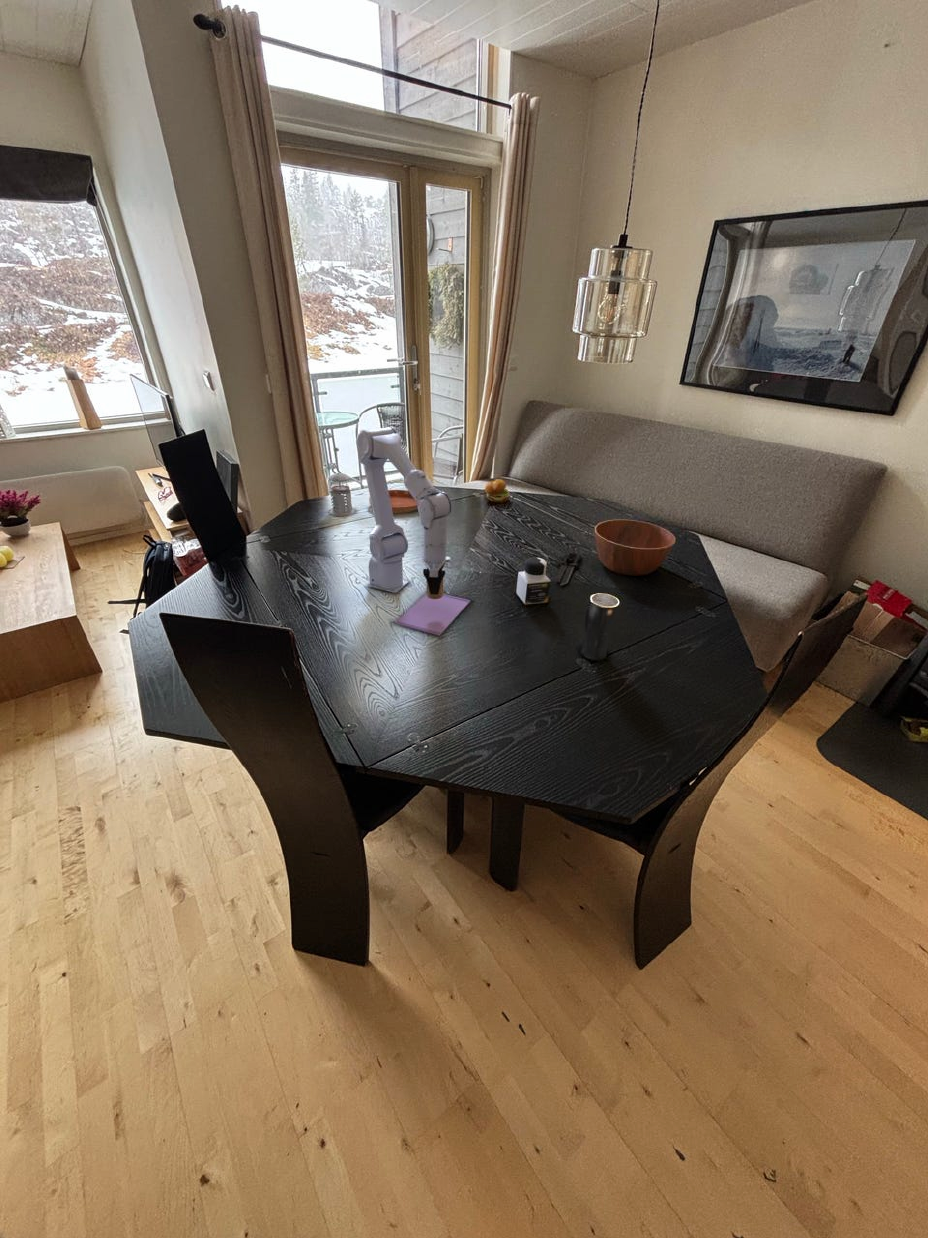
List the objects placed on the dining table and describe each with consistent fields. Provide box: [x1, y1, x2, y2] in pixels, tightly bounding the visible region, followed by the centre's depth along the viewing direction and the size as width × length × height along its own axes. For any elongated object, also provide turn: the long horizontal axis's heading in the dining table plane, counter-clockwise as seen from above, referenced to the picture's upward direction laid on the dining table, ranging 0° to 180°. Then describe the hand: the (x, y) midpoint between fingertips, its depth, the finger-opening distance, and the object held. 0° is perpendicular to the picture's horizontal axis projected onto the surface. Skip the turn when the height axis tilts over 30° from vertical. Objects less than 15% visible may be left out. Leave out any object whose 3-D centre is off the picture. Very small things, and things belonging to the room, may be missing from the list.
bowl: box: [594, 519, 676, 577], centre depth 163 cm, size 25×25×11 cm
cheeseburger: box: [484, 478, 510, 504], centre depth 217 cm, size 10×11×10 cm
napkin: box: [394, 593, 471, 637], centre depth 136 cm, size 13×20×1 cm, turn 156°
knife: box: [554, 551, 581, 586], centre depth 161 cm, size 25×6×1 cm, turn 154°
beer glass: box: [580, 593, 620, 662], centre depth 118 cm, size 7×7×15 cm
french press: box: [327, 447, 356, 517], centre depth 193 cm, size 10×12×25 cm
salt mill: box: [425, 578, 444, 599], centre depth 131 cm, size 4×4×8 cm
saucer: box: [368, 489, 419, 514], centre depth 207 cm, size 23×23×4 cm
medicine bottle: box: [515, 557, 551, 606], centre depth 142 cm, size 7×7×12 cm
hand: (434, 589), depth 132 cm, fingers closed on salt mill, 4 cm apart
